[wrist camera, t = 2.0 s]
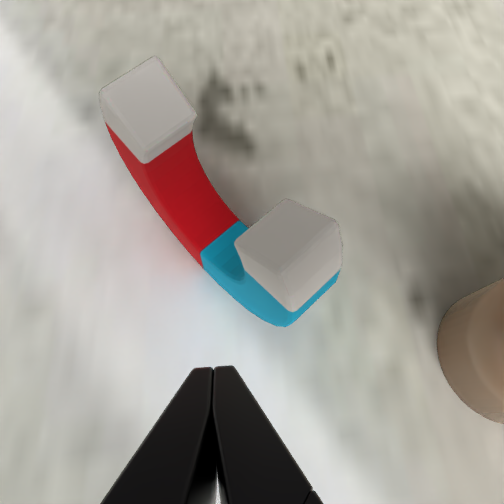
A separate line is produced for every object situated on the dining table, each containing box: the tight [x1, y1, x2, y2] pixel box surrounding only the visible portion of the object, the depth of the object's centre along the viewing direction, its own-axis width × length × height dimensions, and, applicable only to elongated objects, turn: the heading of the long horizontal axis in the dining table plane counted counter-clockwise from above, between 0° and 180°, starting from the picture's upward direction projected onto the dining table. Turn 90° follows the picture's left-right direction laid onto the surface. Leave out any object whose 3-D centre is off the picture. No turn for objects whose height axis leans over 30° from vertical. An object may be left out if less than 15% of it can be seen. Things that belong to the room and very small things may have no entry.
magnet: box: [99, 56, 343, 327], centre depth 19 cm, size 12×3×10 cm, turn 43°
